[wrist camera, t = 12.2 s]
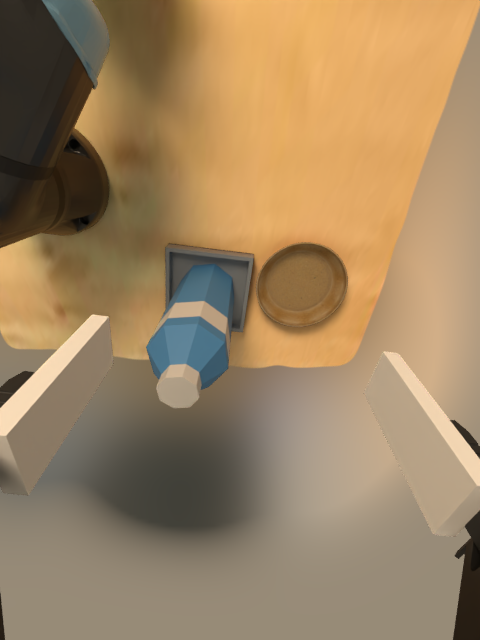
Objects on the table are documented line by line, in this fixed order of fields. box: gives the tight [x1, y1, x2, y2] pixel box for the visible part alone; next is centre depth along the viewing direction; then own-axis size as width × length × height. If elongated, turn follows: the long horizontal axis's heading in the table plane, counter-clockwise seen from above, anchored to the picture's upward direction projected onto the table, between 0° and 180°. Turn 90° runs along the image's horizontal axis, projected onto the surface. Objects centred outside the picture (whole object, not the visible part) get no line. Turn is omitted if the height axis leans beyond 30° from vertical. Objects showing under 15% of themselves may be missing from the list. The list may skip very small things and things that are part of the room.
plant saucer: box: [256, 242, 348, 327], centre depth 48 cm, size 15×15×3 cm
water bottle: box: [146, 264, 234, 408], centre depth 39 cm, size 9×9×25 cm
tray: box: [165, 244, 254, 332], centre depth 49 cm, size 14×14×2 cm
